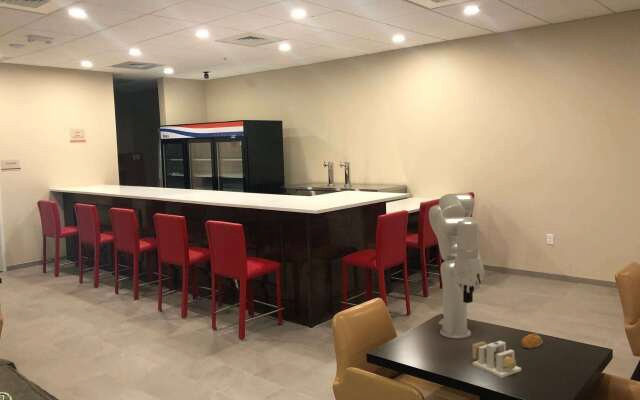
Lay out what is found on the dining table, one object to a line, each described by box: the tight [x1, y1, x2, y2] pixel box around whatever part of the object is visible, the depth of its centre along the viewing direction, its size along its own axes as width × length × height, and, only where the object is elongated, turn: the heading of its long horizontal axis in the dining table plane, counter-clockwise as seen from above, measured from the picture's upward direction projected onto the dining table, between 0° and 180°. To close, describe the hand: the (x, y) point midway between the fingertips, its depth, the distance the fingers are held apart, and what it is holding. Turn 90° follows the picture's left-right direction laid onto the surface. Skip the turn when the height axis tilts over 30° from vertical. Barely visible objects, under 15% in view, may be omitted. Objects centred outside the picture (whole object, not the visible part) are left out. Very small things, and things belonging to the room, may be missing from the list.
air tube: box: [472, 341, 517, 369], centre depth 182 cm, size 16×5×5 cm, turn 30°
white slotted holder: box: [471, 340, 522, 379], centre depth 181 cm, size 13×10×9 cm
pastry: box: [520, 333, 544, 349], centre depth 201 cm, size 9×7×4 cm
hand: (468, 302), depth 191 cm, fingers closed
